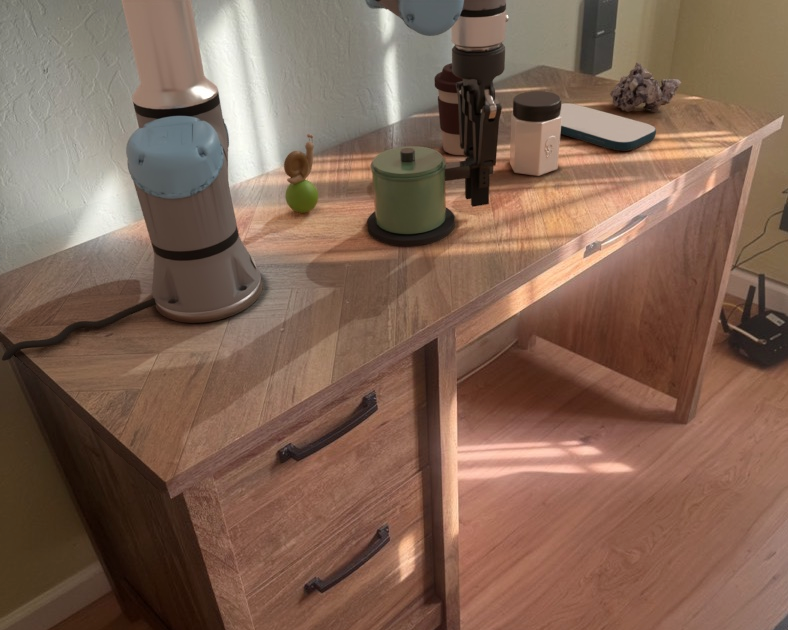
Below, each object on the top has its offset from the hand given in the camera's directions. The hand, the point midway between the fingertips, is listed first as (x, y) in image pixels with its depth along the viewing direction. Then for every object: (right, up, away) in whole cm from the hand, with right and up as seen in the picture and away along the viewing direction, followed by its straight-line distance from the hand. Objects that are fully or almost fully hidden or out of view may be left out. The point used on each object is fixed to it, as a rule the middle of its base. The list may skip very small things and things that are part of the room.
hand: (476, 200), depth 122 cm
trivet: (-11, -4, 0) cm, 11 cm away
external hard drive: (+25, +20, +27) cm, 42 cm away
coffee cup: (0, +16, +24) cm, 29 cm away
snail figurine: (-28, 0, +7) cm, 29 cm away
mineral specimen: (+37, +28, +35) cm, 58 cm away
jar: (+12, +10, +15) cm, 22 cm away
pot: (-7, -2, 0) cm, 7 cm away
